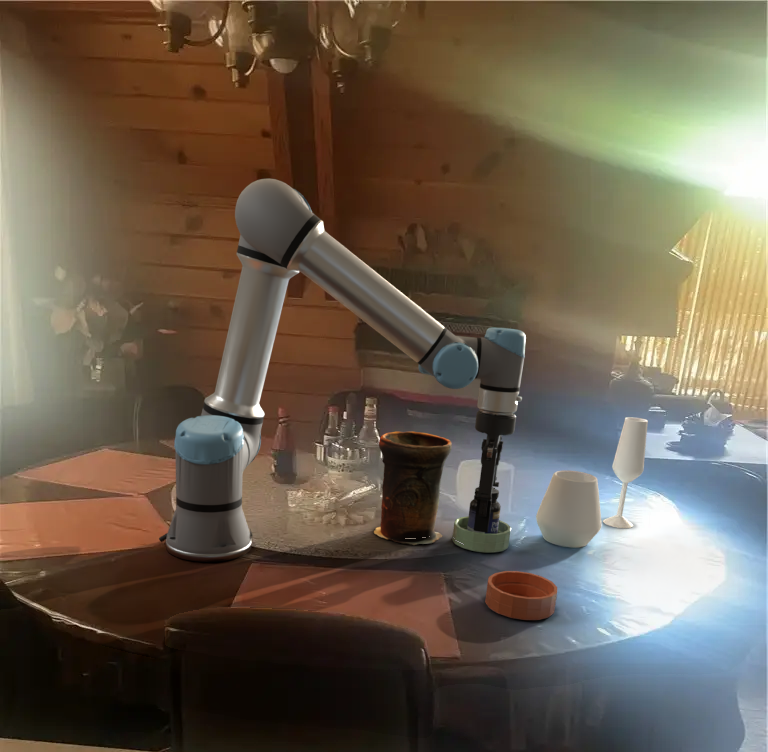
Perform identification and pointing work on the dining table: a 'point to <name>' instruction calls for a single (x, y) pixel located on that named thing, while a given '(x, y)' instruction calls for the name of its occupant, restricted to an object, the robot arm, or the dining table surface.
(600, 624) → the dining table surface
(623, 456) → the champagne flute
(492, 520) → the pill bottle
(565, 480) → the cup
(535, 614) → the front bowl
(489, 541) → the back bowl
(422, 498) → the vessel
